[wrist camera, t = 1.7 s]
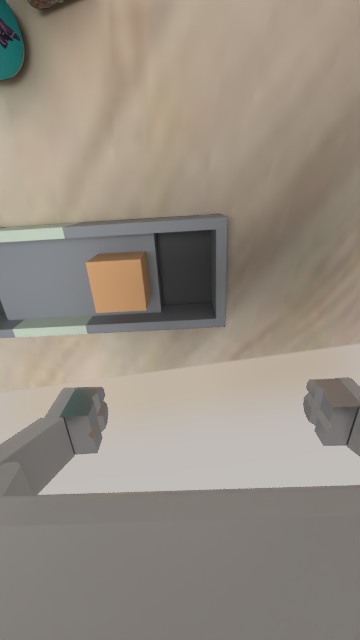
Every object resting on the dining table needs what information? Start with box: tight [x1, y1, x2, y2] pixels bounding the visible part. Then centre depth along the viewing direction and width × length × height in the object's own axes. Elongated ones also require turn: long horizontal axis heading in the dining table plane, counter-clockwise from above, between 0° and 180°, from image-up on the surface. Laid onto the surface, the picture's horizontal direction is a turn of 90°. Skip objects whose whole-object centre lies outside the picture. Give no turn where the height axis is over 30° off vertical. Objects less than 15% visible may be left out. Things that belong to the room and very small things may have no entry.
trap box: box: [0, 214, 227, 338], centre depth 28 cm, size 32×11×5 cm, turn 93°
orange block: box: [85, 251, 151, 313], centre depth 26 cm, size 5×5×4 cm
